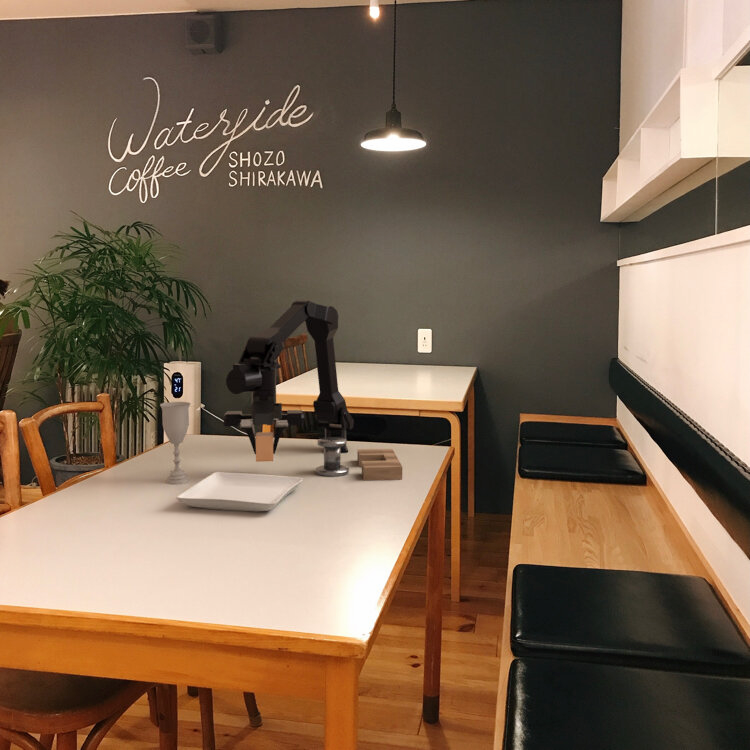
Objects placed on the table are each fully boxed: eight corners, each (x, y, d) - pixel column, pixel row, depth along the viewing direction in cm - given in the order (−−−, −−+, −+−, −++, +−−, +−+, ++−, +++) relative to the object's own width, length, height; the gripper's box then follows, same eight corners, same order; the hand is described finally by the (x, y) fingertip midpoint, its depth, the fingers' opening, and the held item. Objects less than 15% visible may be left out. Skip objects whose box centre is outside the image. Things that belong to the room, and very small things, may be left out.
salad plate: (274, 518, 162) (274, 501, 161) (174, 512, 166) (173, 495, 165) (305, 491, 182) (304, 476, 182) (215, 486, 186) (214, 471, 186)
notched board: (357, 460, 210) (357, 449, 210) (392, 460, 211) (392, 448, 211) (363, 480, 190) (363, 467, 190) (402, 479, 191) (402, 466, 191)
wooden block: (257, 456, 198) (256, 432, 197) (273, 456, 198) (273, 432, 197) (256, 461, 193) (255, 436, 192) (273, 461, 193) (272, 436, 192)
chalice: (188, 485, 185) (186, 406, 183) (158, 485, 186) (155, 406, 183) (195, 477, 193) (193, 401, 191) (167, 477, 193) (164, 401, 191)
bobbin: (315, 469, 201) (315, 437, 200) (347, 468, 202) (347, 436, 201) (316, 477, 193) (315, 443, 192) (349, 476, 194) (349, 443, 193)
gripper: (220, 394, 185) (222, 462, 186) (303, 393, 186) (304, 460, 188) (225, 387, 196) (226, 451, 197) (303, 386, 197) (304, 450, 199)
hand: (264, 453), depth 195 cm, fingers closed on wooden block, 4 cm apart
